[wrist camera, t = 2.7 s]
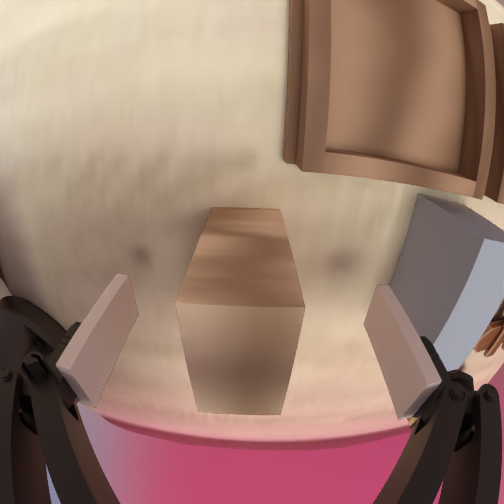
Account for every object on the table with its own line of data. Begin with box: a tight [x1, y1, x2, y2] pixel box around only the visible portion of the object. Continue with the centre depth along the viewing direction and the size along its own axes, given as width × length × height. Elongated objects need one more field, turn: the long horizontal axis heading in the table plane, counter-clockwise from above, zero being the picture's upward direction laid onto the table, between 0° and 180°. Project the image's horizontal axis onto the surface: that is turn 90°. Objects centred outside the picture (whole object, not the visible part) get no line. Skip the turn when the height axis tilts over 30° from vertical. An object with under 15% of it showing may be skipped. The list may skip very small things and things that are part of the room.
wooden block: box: [175, 207, 305, 415], centre depth 14 cm, size 4×7×9 cm, turn 178°
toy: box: [407, 371, 474, 425], centre depth 26 cm, size 9×6×15 cm
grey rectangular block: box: [389, 194, 504, 371], centre depth 15 cm, size 5×10×7 cm, turn 175°
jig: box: [284, 0, 504, 204], centre depth 10 cm, size 24×14×3 cm, turn 88°
